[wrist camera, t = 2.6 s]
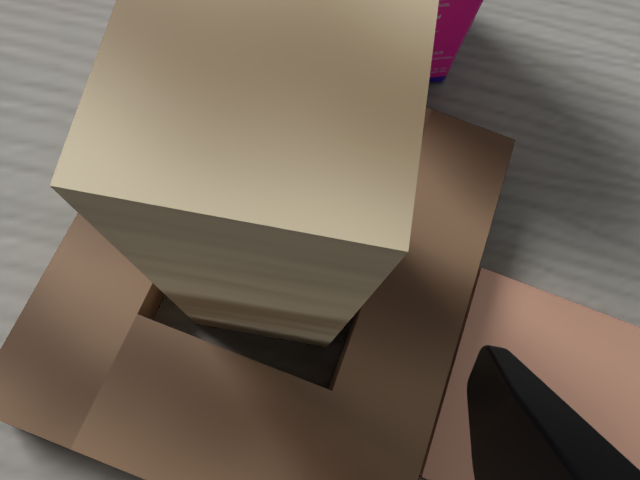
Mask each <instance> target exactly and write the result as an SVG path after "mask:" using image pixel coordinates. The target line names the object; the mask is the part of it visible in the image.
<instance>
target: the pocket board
mask: <svg viewBox="0 0 640 480" xmlns="http://www.w3.org/2000/svg"><path fill="white" fill-rule="evenodd" d="M514 143H515V140H514V139H511V138H509V137H506V136H503V135H501V134H498V133H495V132H492V131H490V130H487V129H484V128H482V127H479V126H476V125H474V124H471V123H468V122H465V121H463V120H460V119H457V118H455V117H452V116H449V115H446V114H444V113H441V112H438V111H436V110H433V109H430V108H427V107H426V111H425V119H424V127H423V135H422V144H421V152H420V160H419V168H418V177H417V185H416V193H415V201H414V209H413V218H412V226H411V234H410V242H409V251H408V253H407V254H406V255H405V256H404V258H403V259H402V260H401V261H400V262H399V263H398V265H397V266H396V267H395V268H394V269H393V270H392V272H391V273H390V274H389V275H388V276H387V277H386V279H385V280H384V281H383V282H382V283H381V284H380V286H379V287H378V288H377V289H376V290H375V291H374V293H373V294H372V295H371V296H370V297H369V298H368V300H367V301H366V302H365V303H364V304H363V305H362V307H361V308H360V309H359V310H358V311H357V312H356V314H355V315H354V318H353V320H352V323H351V326H350V329H349V332H348V334H347V337H346V340H345V343H344V346H343V348H342V351H341V354H340V357H339V360H338V362H337V365H336V368H335V371H334V374H333V376H332V379H331V382H330V385H329V388H328V389H326V388H324V387H321V386H318V385H316V384H313V383H311V382H308V381H306V380H303V379H301V378H298V377H296V376H293V375H291V374H288V373H285V372H283V371H280V370H278V369H275V368H273V367H270V366H268V365H265V364H263V363H260V362H258V361H255V360H252V359H250V358H247V357H245V356H242V355H240V354H237V353H235V352H232V351H230V350H227V349H225V348H222V347H220V346H217V345H214V344H212V343H209V342H207V341H204V340H202V339H199V338H197V337H194V336H192V335H189V334H187V333H184V332H181V331H179V330H176V329H174V328H171V327H169V326H166V325H164V324H161V323H159V322H156V321H154V320H153V318H154V316H155V314H156V312H157V310H158V308H159V305H160V303H161V301H162V299H163V297H164V295H165V294H164V293H163V292H162V291H161V290H160V289H159V288H158V287H156V286H155V285H154V284H153V283H152V282H151V281H150V280H149V279H148V278H147V277H146V276H145V275H144V274H143V273H142V272H141V271H140V270H138V269H137V268H136V267H135V266H134V265H133V264H132V263H131V262H130V261H129V260H128V259H127V258H126V257H125V256H124V255H123V254H122V253H121V252H119V251H118V250H117V249H116V248H115V247H114V246H113V245H112V244H111V243H110V242H109V241H108V240H107V239H106V238H105V237H104V236H103V235H101V234H100V233H99V232H98V231H97V230H96V229H95V228H94V227H93V226H92V225H91V224H90V223H89V222H88V221H87V220H86V219H85V218H83V217H82V216H81V215H80V214H79V213H78V214H77V215H76V217H75V219H74V221H73V222H72V224H71V226H70V228H69V230H68V231H67V233H66V235H65V237H64V238H63V240H62V242H61V244H60V245H59V247H58V249H57V251H56V252H55V254H54V256H53V258H52V260H51V261H50V263H49V265H48V267H47V268H46V270H45V272H44V274H43V275H42V277H41V279H40V281H39V282H38V284H37V286H36V288H35V289H34V291H33V293H32V295H31V297H30V298H29V300H28V302H27V304H26V305H25V307H24V309H23V311H22V312H21V314H20V316H19V318H18V319H17V321H16V323H15V325H14V327H13V328H12V330H11V332H10V334H9V335H8V337H7V339H6V341H5V342H4V344H3V346H2V348H1V349H0V421H2V422H4V423H7V424H9V425H12V426H14V427H17V428H19V429H22V430H24V431H27V432H29V433H31V434H34V435H36V436H39V437H41V438H44V439H46V440H49V441H51V442H54V443H56V444H58V445H61V446H63V447H66V448H68V449H71V450H73V451H76V452H78V453H81V454H83V455H85V456H88V457H90V458H93V459H95V460H98V461H100V462H103V463H105V464H108V465H110V466H112V467H115V468H117V469H120V470H122V471H125V472H127V473H130V474H132V475H135V476H137V477H140V478H142V479H144V480H418V478H419V474H420V471H421V467H422V464H423V460H424V457H425V453H426V450H427V446H428V443H429V439H430V436H431V432H432V429H433V425H434V422H435V418H436V415H437V411H438V408H439V404H440V401H441V397H442V394H443V390H444V387H445V383H446V380H447V376H448V373H449V370H450V366H451V363H452V359H453V356H454V352H455V349H456V345H457V342H458V338H459V335H460V331H461V328H462V324H463V321H464V317H465V314H466V310H467V307H468V303H469V300H470V296H471V293H472V289H473V286H474V282H475V279H476V275H477V272H478V268H479V265H480V261H481V258H482V254H483V251H484V247H485V244H486V240H487V237H488V233H489V230H490V226H491V223H492V219H493V216H494V212H495V209H496V205H497V202H498V198H499V195H500V192H501V188H502V185H503V181H504V178H505V174H506V171H507V167H508V164H509V160H510V157H511V153H512V150H513V146H514Z"/></svg>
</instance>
